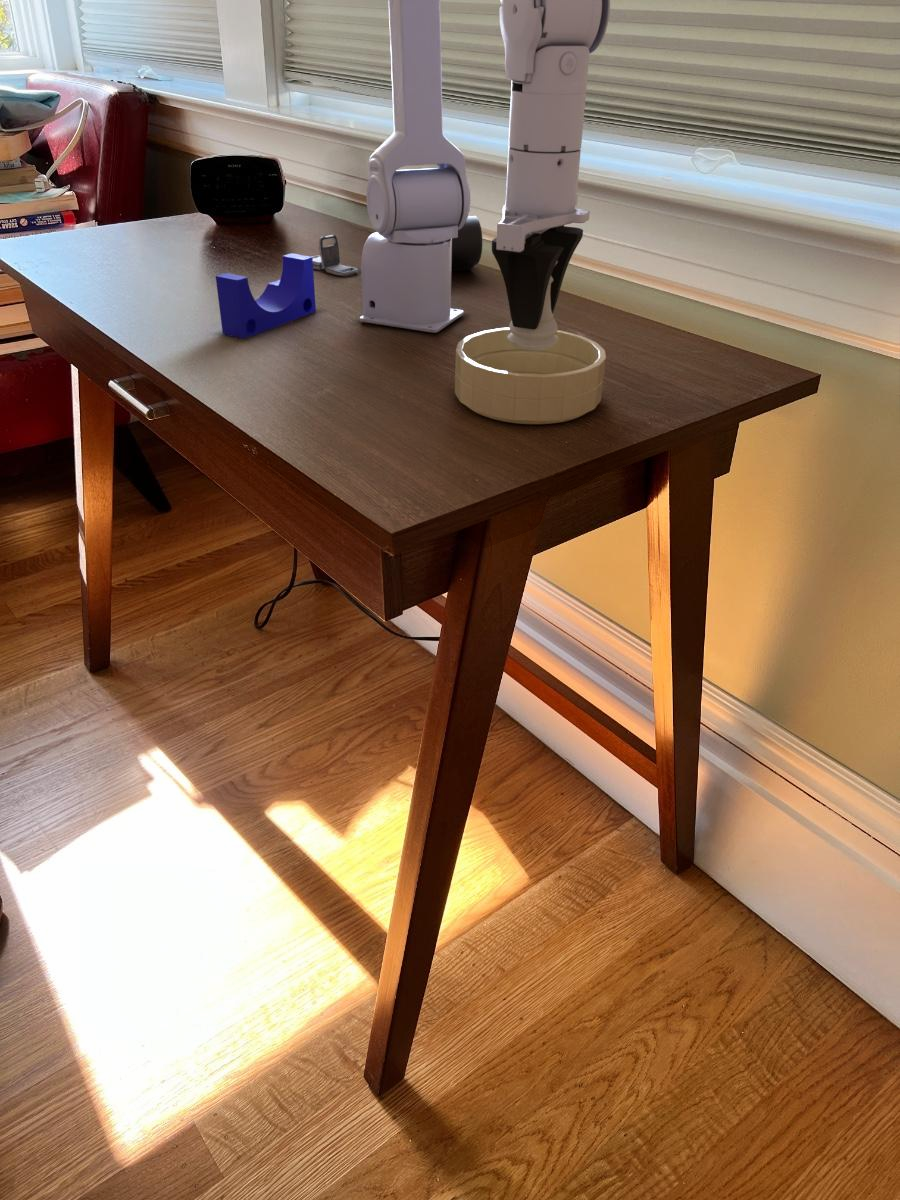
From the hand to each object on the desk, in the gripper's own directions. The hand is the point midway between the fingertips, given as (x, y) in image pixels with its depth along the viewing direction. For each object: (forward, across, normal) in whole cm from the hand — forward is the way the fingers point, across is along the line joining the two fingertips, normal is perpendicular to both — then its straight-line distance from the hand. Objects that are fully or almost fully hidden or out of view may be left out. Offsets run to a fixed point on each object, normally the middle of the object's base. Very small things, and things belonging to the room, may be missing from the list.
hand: (532, 321), depth 79 cm
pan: (+7, 0, 0) cm, 7 cm away
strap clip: (+7, +32, +39) cm, 51 cm away
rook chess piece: (+2, 0, 0) cm, 2 cm away
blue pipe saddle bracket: (+7, +9, +34) cm, 36 cm away
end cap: (+7, +38, +26) cm, 47 cm away
